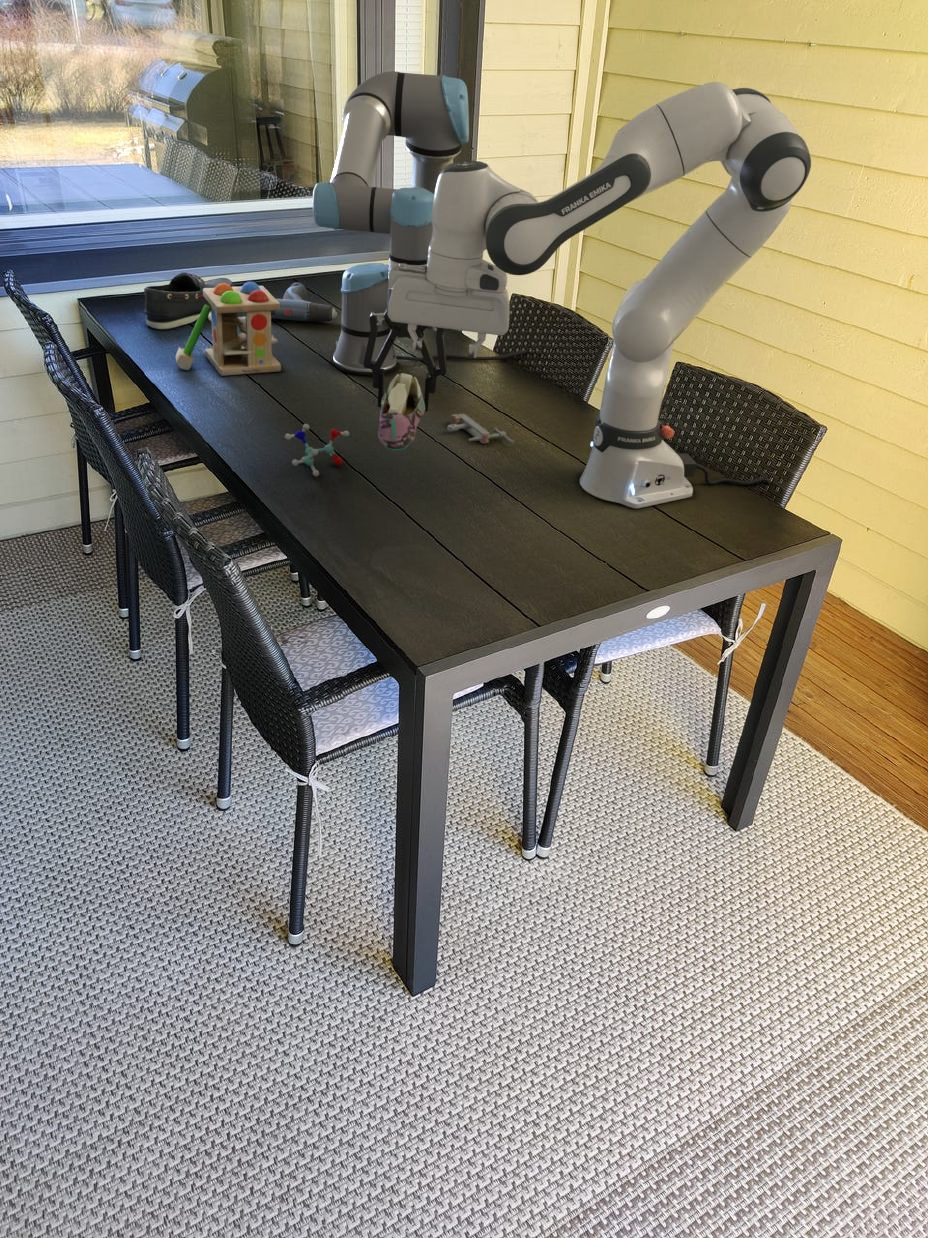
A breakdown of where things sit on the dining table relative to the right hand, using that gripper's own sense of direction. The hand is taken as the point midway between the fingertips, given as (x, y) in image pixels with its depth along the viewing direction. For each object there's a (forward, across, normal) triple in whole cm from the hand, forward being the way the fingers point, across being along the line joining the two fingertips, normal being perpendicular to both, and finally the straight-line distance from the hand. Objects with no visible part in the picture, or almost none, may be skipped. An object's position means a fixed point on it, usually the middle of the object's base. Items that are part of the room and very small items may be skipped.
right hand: (444, 352), depth 166 cm
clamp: (+28, +8, +31) cm, 43 cm away
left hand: (+16, -7, +13) cm, 22 cm away
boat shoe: (+32, -68, +95) cm, 121 cm away
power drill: (+30, -40, +104) cm, 115 cm away
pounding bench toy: (+31, -52, +59) cm, 84 cm away
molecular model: (+29, -23, +10) cm, 39 cm away
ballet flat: (+16, -7, +5) cm, 18 cm away
